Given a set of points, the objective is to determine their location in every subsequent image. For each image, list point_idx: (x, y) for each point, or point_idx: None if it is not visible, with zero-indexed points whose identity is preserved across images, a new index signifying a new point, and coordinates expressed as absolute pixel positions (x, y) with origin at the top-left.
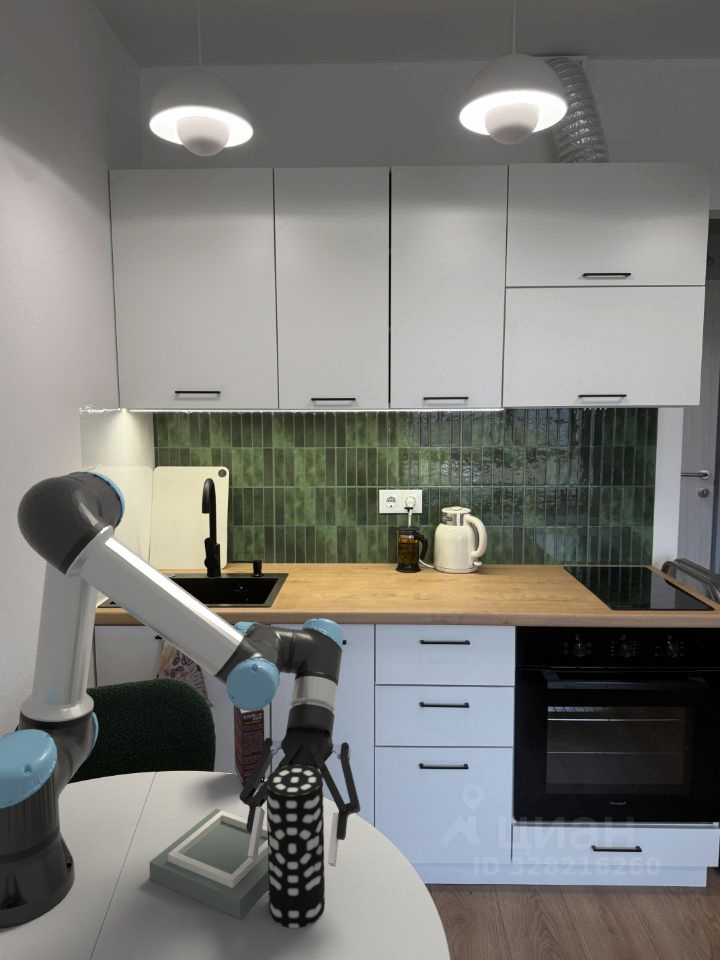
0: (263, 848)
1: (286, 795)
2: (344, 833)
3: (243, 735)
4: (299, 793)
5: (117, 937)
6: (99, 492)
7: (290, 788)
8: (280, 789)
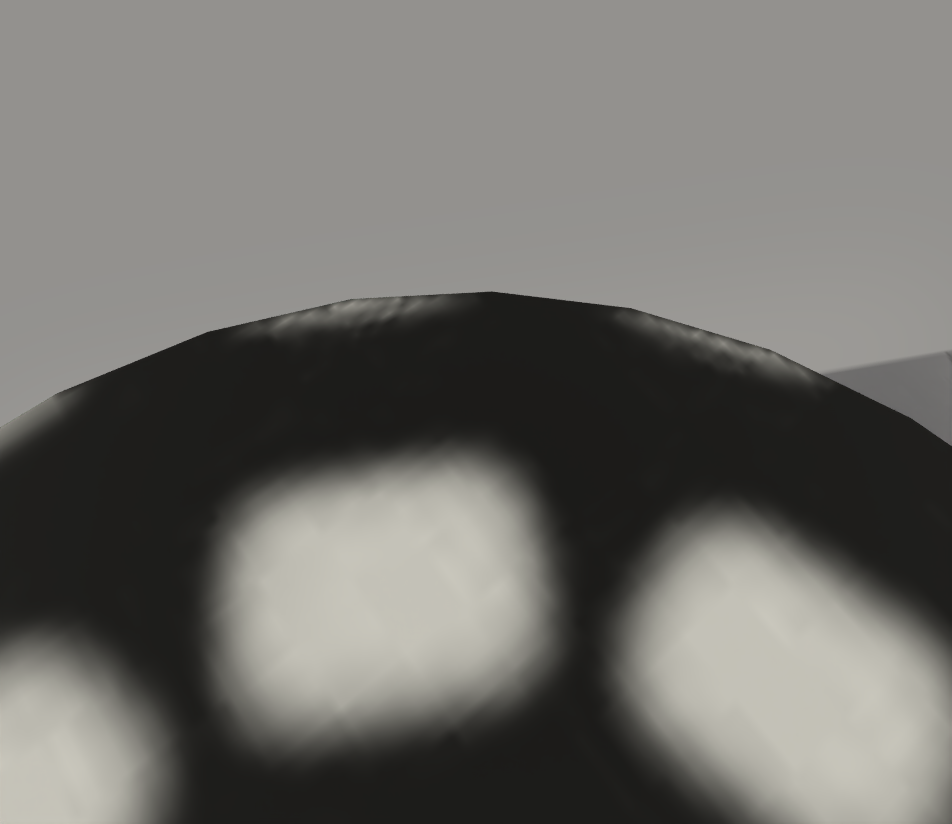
0: None
1: (474, 305)
2: None
3: None
4: (156, 447)
5: (925, 401)
6: None
7: (464, 638)
8: (731, 534)
